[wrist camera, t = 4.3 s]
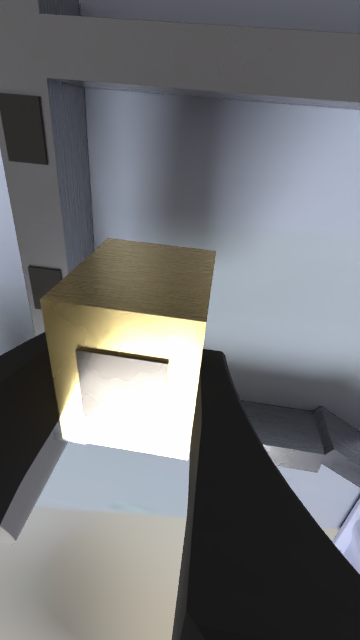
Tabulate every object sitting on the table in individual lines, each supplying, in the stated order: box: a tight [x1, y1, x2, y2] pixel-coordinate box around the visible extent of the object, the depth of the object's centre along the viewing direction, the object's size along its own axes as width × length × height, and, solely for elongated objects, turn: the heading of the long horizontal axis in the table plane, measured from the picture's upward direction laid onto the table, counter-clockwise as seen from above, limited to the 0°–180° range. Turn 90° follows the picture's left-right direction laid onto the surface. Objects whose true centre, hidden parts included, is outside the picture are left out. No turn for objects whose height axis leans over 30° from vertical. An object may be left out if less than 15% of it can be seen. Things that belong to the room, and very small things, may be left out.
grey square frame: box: [0, 0, 360, 487], centre depth 15 cm, size 20×19×3 cm
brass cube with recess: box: [40, 238, 216, 460], centre depth 11 cm, size 5×4×5 cm
